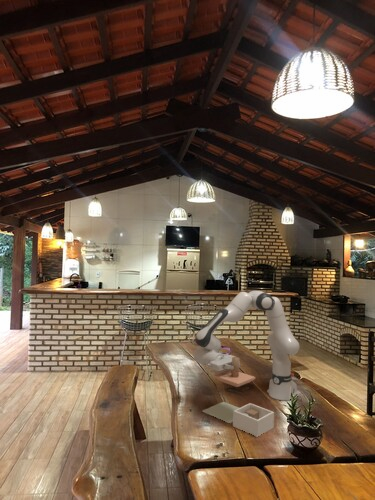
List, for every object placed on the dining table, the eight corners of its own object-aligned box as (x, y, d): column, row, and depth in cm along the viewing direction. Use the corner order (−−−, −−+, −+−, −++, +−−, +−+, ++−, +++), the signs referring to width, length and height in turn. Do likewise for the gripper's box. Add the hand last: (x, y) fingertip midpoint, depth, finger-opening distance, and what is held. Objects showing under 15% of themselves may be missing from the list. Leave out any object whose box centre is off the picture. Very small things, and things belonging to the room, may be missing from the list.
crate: (249, 417, 206) (250, 403, 206) (273, 427, 196) (274, 412, 196) (232, 426, 195) (233, 410, 195) (257, 437, 185) (258, 421, 185)
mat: (223, 402, 225) (223, 401, 225) (250, 413, 212) (250, 412, 212) (202, 411, 211) (202, 410, 211) (229, 423, 198) (229, 422, 198)
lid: (231, 374, 218) (232, 352, 218) (255, 382, 207) (256, 358, 207) (214, 380, 206) (215, 357, 206) (237, 389, 195) (239, 364, 195)
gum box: (231, 364, 299) (232, 347, 298) (227, 367, 292) (228, 349, 292) (204, 359, 310) (205, 342, 310) (200, 361, 303) (201, 344, 303)
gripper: (205, 358, 208) (225, 365, 199) (227, 352, 223) (247, 357, 213) (204, 370, 208) (224, 376, 199) (227, 363, 223) (246, 369, 213)
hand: (236, 367), depth 206 cm, fingers closed on lid, 4 cm apart
